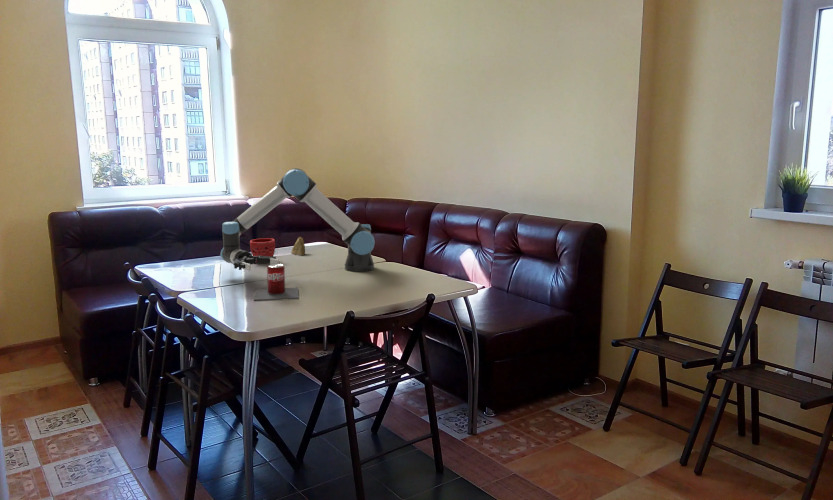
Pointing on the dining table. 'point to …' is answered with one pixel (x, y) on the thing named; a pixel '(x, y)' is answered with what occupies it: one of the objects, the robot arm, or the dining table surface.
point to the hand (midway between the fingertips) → (264, 265)
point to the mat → (264, 295)
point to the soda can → (276, 279)
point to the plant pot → (262, 244)
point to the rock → (299, 247)
